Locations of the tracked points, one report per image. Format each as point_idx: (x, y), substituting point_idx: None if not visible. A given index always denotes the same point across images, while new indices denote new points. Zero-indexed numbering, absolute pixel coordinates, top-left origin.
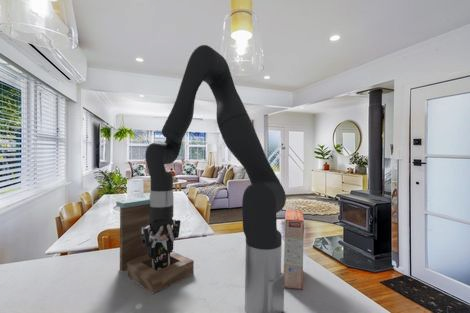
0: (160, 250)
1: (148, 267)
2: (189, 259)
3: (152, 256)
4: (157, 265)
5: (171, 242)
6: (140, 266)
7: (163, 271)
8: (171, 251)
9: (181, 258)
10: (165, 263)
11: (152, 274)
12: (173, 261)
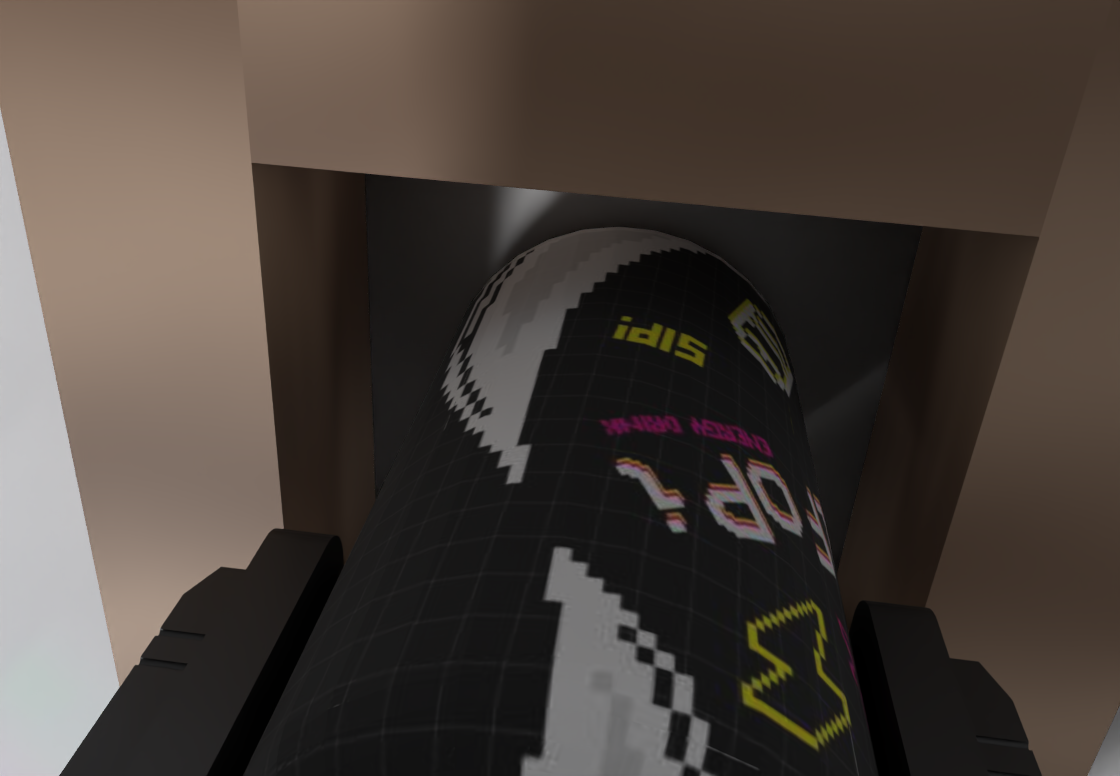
0: (799, 661)
1: (988, 521)
2: (17, 16)
3: (942, 673)
4: (799, 437)
5: (174, 763)
6: (1031, 676)
7: (984, 52)
8: (297, 538)
9: (157, 251)
10: (645, 338)
11: None
12: (308, 397)
